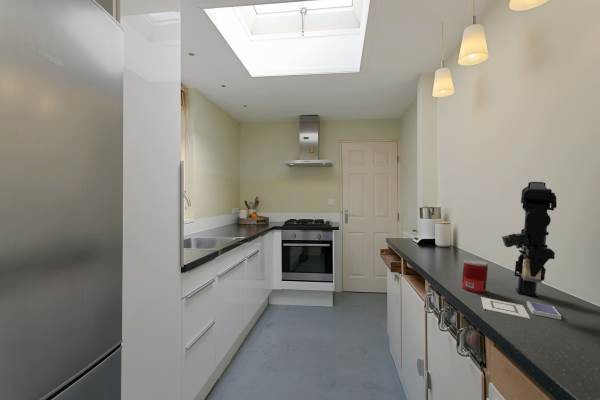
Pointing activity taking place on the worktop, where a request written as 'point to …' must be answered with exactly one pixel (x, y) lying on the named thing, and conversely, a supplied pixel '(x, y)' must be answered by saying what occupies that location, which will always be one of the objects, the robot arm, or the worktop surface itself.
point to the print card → (504, 307)
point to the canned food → (474, 276)
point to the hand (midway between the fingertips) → (531, 275)
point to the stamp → (526, 272)
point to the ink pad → (543, 310)
